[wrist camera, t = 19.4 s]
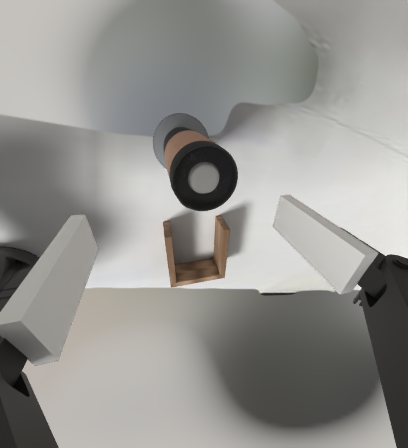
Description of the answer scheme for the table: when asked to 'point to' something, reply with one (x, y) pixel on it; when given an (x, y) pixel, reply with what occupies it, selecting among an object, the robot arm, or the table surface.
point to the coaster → (170, 124)
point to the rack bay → (199, 269)
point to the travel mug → (199, 169)
